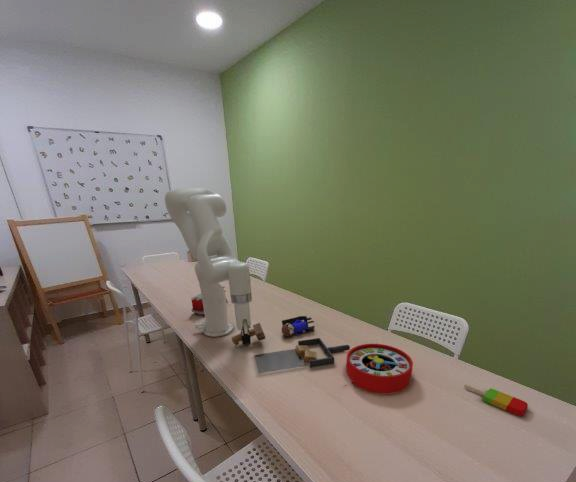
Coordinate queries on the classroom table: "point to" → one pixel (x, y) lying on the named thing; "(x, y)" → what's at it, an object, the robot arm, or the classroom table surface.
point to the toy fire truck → (199, 304)
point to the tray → (278, 361)
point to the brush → (251, 334)
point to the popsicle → (503, 401)
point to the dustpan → (326, 350)
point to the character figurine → (296, 325)
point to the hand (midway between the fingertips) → (246, 342)
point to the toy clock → (379, 368)
